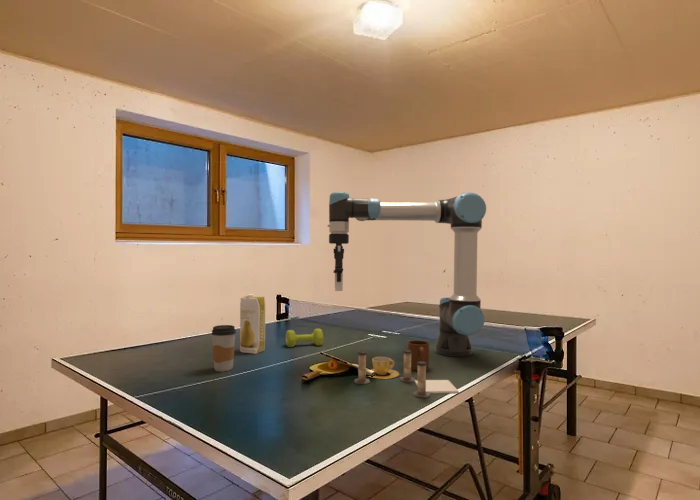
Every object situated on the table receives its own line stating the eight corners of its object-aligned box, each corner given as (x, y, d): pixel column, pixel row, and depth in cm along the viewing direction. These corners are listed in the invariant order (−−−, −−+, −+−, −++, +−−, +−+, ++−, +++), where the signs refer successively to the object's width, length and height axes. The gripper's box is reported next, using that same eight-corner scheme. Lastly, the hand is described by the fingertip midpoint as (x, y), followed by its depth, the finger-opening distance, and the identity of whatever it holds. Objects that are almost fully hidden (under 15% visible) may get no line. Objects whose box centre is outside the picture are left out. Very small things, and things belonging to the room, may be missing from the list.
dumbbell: (320, 343, 196) (320, 327, 196) (324, 346, 188) (324, 330, 188) (284, 345, 191) (284, 328, 191) (287, 348, 184) (287, 332, 184)
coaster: (448, 381, 139) (448, 379, 139) (458, 393, 128) (458, 391, 128) (414, 382, 138) (414, 380, 138) (422, 393, 127) (422, 391, 127)
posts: (417, 377, 143) (418, 349, 143) (431, 398, 123) (432, 364, 123) (353, 378, 142) (353, 349, 142) (357, 398, 122) (357, 365, 122)
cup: (375, 381, 139) (375, 365, 139) (358, 372, 150) (358, 356, 150) (406, 377, 145) (406, 361, 145) (387, 368, 155) (387, 353, 155)
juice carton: (237, 352, 176) (237, 294, 176) (248, 348, 183) (249, 292, 183) (256, 354, 172) (256, 295, 172) (267, 350, 180) (267, 293, 180)
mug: (433, 375, 146) (434, 347, 146) (411, 375, 146) (411, 347, 146) (426, 365, 158) (426, 340, 158) (406, 365, 158) (406, 340, 158)
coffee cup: (240, 367, 154) (240, 325, 154) (226, 373, 146) (226, 329, 146) (220, 365, 157) (221, 324, 157) (206, 371, 149) (206, 328, 149)
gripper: (329, 234, 175) (328, 286, 175) (328, 231, 150) (328, 292, 150) (347, 234, 175) (347, 286, 175) (350, 232, 150) (349, 292, 150)
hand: (338, 289), depth 163 cm, fingers open, 13 cm apart
